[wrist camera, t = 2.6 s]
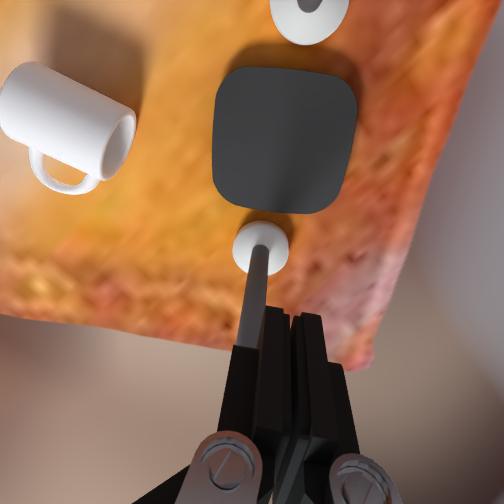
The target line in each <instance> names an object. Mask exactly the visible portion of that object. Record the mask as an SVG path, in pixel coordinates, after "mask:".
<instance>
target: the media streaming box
mask: <svg viewBox="0 0 504 504" xmlns="http://www.w3.org/2000/svg"><path fill="white" fill-rule="evenodd" d="M357 112H358V109H357V101H356V98H355V95H354V93H353V91H352V89H351V88H350V86H349V85H348V84H347V83H346V82H345V81H343V80H342V79H341V78H339V77H337V76H334V75H328V74H322V73H316V72H309V71H302V70H293V69H283V68H271V67H250V66H246V67H242V68H239V69H237V70H235V71H233V72H232V73H230V74H229V75H228V76H227V77H226V78H225V79H224V80H223V82H222V83H221V85H220V87H219V89H218V91H217V94H216V100H215V109H214V120H213V136H212V173H213V181H214V184H215V186H216V188H217V190H218V191H219V193H220V194H221V195H222V196H223V197H224V198H225V199H226V200H227V201H229V202H230V203H232V204H234V205H237V206H241V207H246V208H251V209H257V210H263V211H270V212H280V213H295V214H311V213H315V212H318V211H321V210H323V209H325V208H326V207H328V206H329V205H330V204H331V203H332V202H333V201H334V200H335V199H336V198H337V196H338V194H339V192H340V189H341V186H342V183H343V180H344V176H345V173H346V169H347V165H348V161H349V157H350V152H351V148H352V143H353V137H354V132H355V126H356V119H357Z"/></svg>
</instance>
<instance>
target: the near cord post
mask: <svg viewBox="0 0 504 504" xmlns="http://www.w3.org/2000/svg"><path fill="white" fill-rule="evenodd" d="M348 4H349V0H270V8H271V13H272V18H273V21H274V23H275V25H276V27H277V29H278V31H279V32H280V33H281V34H282V36H283V37H285V38H286V39H287V40H288V41H290V42H292V43H294V44H298V45H304V46H305V45H313V44H316V43H319V42H321V41H323V40H324V39H326V38H327V37H328V36H330V35H331V34H332V33H333V32H334V31H335V30H336V29H337V28H338V26H339V25H340V23H341V22H342V20H343V18H344V16H345V14H346V11H347V8H348Z"/></svg>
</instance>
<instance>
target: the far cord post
mask: <svg viewBox="0 0 504 504" xmlns="http://www.w3.org/2000/svg"><path fill="white" fill-rule="evenodd" d="M288 255H289V246H288V239H287V236H286V234H285V232H284V231H283V230H282V229H281V228H280V227H279V226H278V225H276V224H274V223H272V222H270V221H265V220H257V221H252V222H249V223H247V224H246V225H244V226H243V227H242V228H241V229H240V230H239V231H238V233H237V235H236V237H235V241H234V244H233V257H234V260H235V262H236V263H237V265H238V266H239V267H240V268H241V269H242V270H243V271H245V272H246V273H248V276H247V282H246V288H245V294H244V300H243V306H242V312H241V318H240V324H239V329H238V335H237V341H236V345H238V346H244V347H250V348H255V349H256V346H257V341H258V336H259V332H260V327H261V323H262V318H263V313H264V309H265V306H266V292H267V278H268V275H272V274H274V273H276V272H278V271H279V270H280V269H282V268H283V266H284V265H285V264H286V262H287V259H288Z"/></svg>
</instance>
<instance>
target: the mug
mask: <svg viewBox="0 0 504 504" xmlns="http://www.w3.org/2000/svg"><path fill="white" fill-rule="evenodd" d="M0 126H1V128H2V130H3V132H4V133H5V134H6V135H7V136H8V137H10V138H11V139H14V140H16V141H18V142H20V143H22V144H24V145H27V146H28V153H29V161H30V164H31V167H32V170H33V171H34V173H35V175H36V176H37V178H38V179H39V180H40V181H41V182H42V183H43V184H44V185H46V186H47V187H49V188H50V189H52V190H55V191H57V192H60V193H65V194H74V195H76V194H84V193H87V192H90V191H91V190H93V189H94V188H95V187H96V186H97V185H98V183H99V182H100V180H103V181H106V180H109V179H111V178H112V177H113V176H114V175H115V174H116V173H117V172H118V171H119V169H120V168H121V167H122V165H123V163H124V162H125V160H126V158H127V156H128V154H129V151H130V149H131V146H132V143H133V140H134V136H135V132H136V115H135V112H134V111H133V110H132V109H131V108H129V107H127V106H125V105H123V104H121V103H119V102H117V101H115V100H113V99H111V98H109V97H107V96H105V95H103V94H101V93H99V92H97V91H95V90H92V89H90V88H88V87H86V86H84V85H82V84H80V83H78V82H76V81H74V80H72V79H70V78H68V77H66V76H64V75H62V74H60V73H58V72H56V71H54V70H52V69H50V68H48V67H46V66H44V65H42V64H40V63H38V62H26V63H23V64H21V65H19V66H18V67H17V68H15V69H14V70H13V71H12V72H11V73H10V75H9V76H8V78H7V79H6V81H5V83H4V85H3V87H2V89H1V92H0ZM44 154H46V155H48V156H50V157H53V158H55V159H57V160H59V161H61V162H63V163H66V164H68V165H70V166H72V167H74V168H76V169H79V170H81V171H83V172H85V173H87V174H86V176H85V178H84V179H83V181H82V182H81V183H79V184H78V185H75V186H73V185H68V184H65V183H62V182H59V181H57V180H55V179H54V178H52V177H51V176H50V175H49V174H48V172H47V170H46V168H45V162H44Z"/></svg>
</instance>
